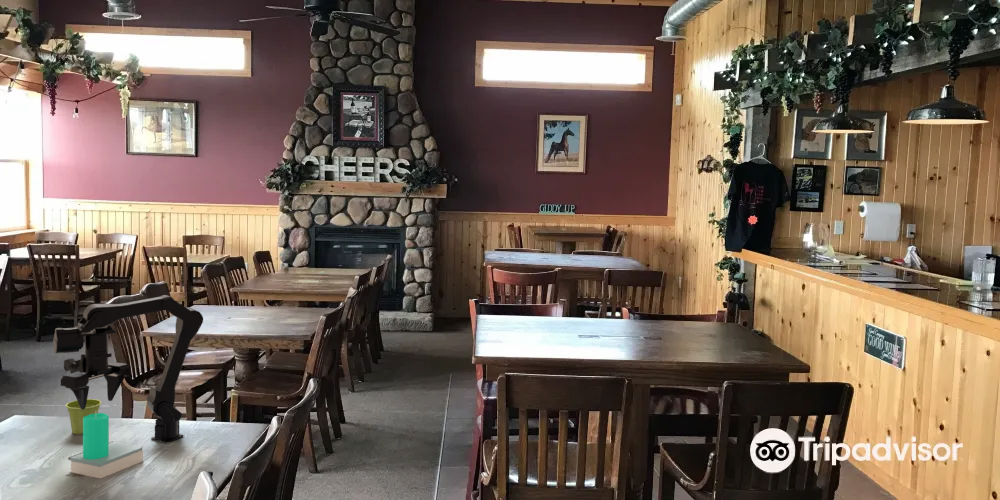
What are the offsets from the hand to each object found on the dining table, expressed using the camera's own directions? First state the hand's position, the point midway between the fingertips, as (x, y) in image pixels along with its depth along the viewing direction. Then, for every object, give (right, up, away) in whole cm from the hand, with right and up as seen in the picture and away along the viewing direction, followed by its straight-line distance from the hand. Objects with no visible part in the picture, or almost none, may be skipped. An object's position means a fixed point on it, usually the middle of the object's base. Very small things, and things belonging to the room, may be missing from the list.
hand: (96, 404), depth 216 cm
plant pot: (-12, -12, +16) cm, 23 cm away
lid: (+8, -11, -11) cm, 17 cm away
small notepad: (+8, -14, -11) cm, 20 cm away
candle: (+7, -11, -13) cm, 18 cm away
